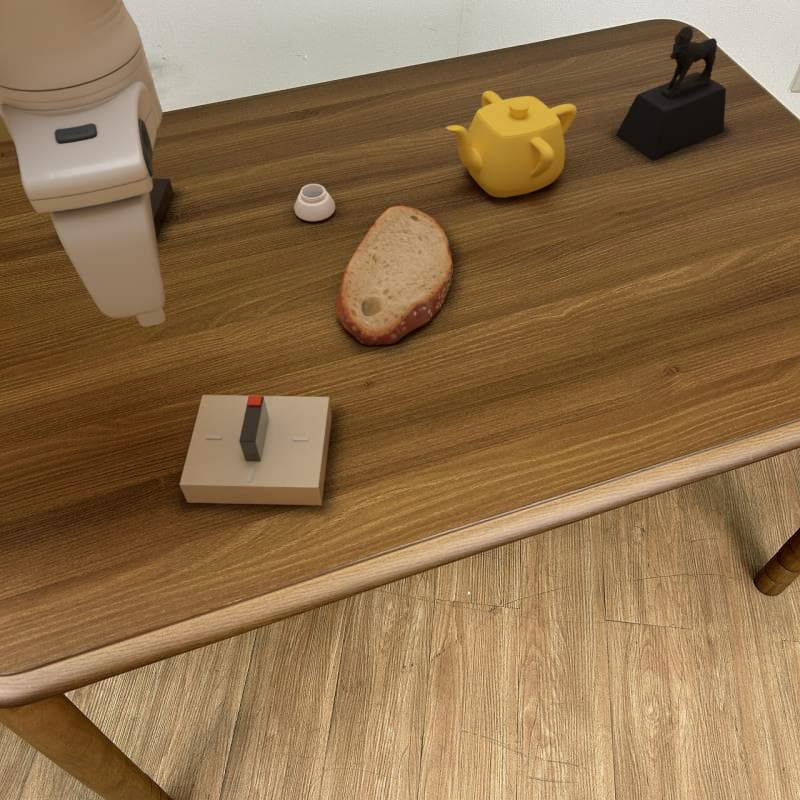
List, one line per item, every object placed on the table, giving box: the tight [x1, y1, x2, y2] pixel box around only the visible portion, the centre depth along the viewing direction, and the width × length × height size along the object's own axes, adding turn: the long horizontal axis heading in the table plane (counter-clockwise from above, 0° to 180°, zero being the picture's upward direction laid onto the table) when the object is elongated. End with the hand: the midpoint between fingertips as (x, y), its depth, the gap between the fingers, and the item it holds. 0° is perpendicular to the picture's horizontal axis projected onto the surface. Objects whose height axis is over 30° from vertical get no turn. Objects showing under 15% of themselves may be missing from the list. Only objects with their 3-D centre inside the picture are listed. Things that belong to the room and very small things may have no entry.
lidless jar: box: [293, 183, 336, 222], centre depth 91 cm, size 5×3×5 cm
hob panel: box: [179, 394, 333, 506], centre depth 68 cm, size 12×10×3 cm
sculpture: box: [616, 26, 727, 161], centre depth 96 cm, size 8×13×15 cm, turn 119°
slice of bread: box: [335, 205, 454, 346], centre depth 83 cm, size 18×18×4 cm
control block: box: [149, 178, 175, 239], centre depth 91 cm, size 11×9×4 cm
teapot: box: [445, 90, 578, 198], centre depth 92 cm, size 14×13×10 cm
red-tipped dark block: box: [239, 395, 269, 461], centre depth 65 cm, size 5×1×3 cm, turn 178°
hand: (147, 275), depth 55 cm, fingers open, 8 cm apart
